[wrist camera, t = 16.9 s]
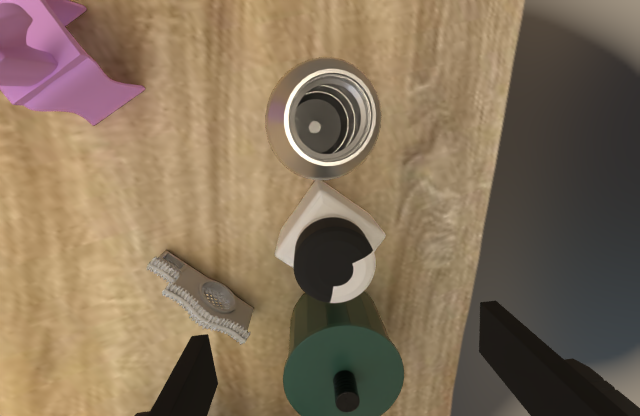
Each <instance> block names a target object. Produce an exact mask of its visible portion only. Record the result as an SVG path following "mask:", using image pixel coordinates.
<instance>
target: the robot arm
mask: <svg viewBox="0 0 640 416" xmlns="http://www.w3.org/2000/svg"><path fill="white" fill-rule="evenodd" d="M479 352H480V353H481V355H482V356H483V357H484V358H485V360H486V361H487V362H488V363H489V364H490V366H491V367H492V368H493V369H494V371H495V372H496V373H497V374H498V376H499V377H500V378H501V379H502V381H503V382H504V383H505V384H506V385H507V387H508V388H509V389H510V390H511V392H512V393H513V394H514V395H515V396H516V398H517V399H518V400H519V401H520V403H521V404H522V405H523V406H524V408H525V409H526V410H527V411H528V413H529V414H530V415H531V416H640V408H639V407H638V406H636V405H635V404H634V403H633V402H631V401H630V400H629V399H628V398H627V397H625V396H624V395H623V394H622V393H620V392H619V391H618V390H615V388H614V387H613V386H612V385H611V384H609V383H608V382H607V381H604V380H603V378H602V377H601V376H600V375H598V374H597V373H596V372H595V371H593V370H592V369H591V368H590V367H588V366H586V365H584V364H582V363H580V362H578V361H577V360H574V359H566V360H564V359H562V358H561V357H560V356H559V355H558V354H556V352H554V351H553V350H552V349H551V348H550V347H549V346H547V345H546V344H545V343H544V342H543V341H542V340H541V339H539V338H538V337H537V336H536V335H535V334H534V333H532V332H531V331H530V330H529V329H528V328H527V327H526V326H524V325H523V324H522V323H521V322H520V321H518V320H517V319H516V318H515V317H514V316H513V315H512V314H511V313H509V312H508V311H507V310H506V309H505V308H504V307H502V306H501V305H500V304H499V303H498V302H497V301H489V302H481V303H480V341H479ZM217 385H218V381H217V376H216V371H215V366H214V361H213V356H212V352H211V347H210V342H209V337H208V334H207V335H198V336H192V337H191V338H190V340H189V342H188V344H187V346H186V348H185V349H184V351H183V353H182V355H181V357H180V358H179V360H178V362H177V364H176V366H175V367H174V369H173V371H172V373H171V375H170V377H169V378H168V380H167V382H166V384H165V386H164V387H163V389H162V391H161V393H160V395H159V397H158V398H157V400H156V402H155V404H154V406H153V407H152V409H151V411H149V412H141V413H137V414H136V415H135V416H207V414H208V411H209V408H210V405H211V402H212V399H213V397H214V394H215V391H216V388H217Z"/></svg>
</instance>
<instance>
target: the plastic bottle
mask: <svg viewBox="0 0 640 416" xmlns="http://www.w3.org/2000/svg"><path fill="white" fill-rule="evenodd" d="M265 123H266V132H267V138H268V141H269V143H270V146H271V148H272V151H273V152H274V154H275V155H276V157H277V158H278V160H279V161H280V162H281V163H282V164H283V165H284V166H285V167H286V168H287V169H289V170H290V171H292V172H293V173H295V174H297V175H299V176H302V177H304V178H307V179H312V180H330V179H335V178H339V177H341V176H344V175H346V174H348V173H350V172H351V171H353V170H354V169H356V168H357V167H358V166H359V165H360V164H361V163H362V162H363V161H365V160H366V158H367V157H368V155H369V154H370V153H371V151H372V150H373V148H374V145H375V143H376V141H377V139H378V135H379V131H380V128H381V107H380V101H379V98H378V95H377V92H376V90H375V88H374V86H373V84H372V83H371V81H370V80H369V79H368V77H367V76H366V75H365V74H364V73H363V72H362V71H361V70H359V69H358V68H357V67H356V66H354V65H352V64H350V63H348V62H346V61H344V60H341V59H336V58H332V57H319V58H315V59H310V60H307V61H304V62H302V63H300V64H298V65H296V66H295V67H293V68H292V69H291V70H289V71H288V72H287V73H286V74H285V75H284V76H283V77H282V78H281V79H280V80H279V81H278V83H277V85H276V86H275V88H274V89H273V91H272V93H271V96H270V98H269V101H268V104H267V110H266V115H265Z"/></svg>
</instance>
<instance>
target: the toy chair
mask: <svg viewBox="0 0 640 416" xmlns="http://www.w3.org/2000/svg"><path fill="white" fill-rule="evenodd" d="M86 10H87V9H86V7H85V6H84V5H81V4H78V3H75V2H71V1H68V0H0V90H1V91H2V92H3V94H4V95H5V96H6V97H7V98H8V100H9V101H10V102H11V103H12V104H13V105H24V106H25V107H27V108H29V109H31V110H35V111H65V112H72V113H75V114H78V115H80V116H82V117H83V118H85V119H86V120H87V121H89V122H90V123H91V124H92V125H96V124H97V123H99V122H100V121H102V120H103V119H104V118H106V117H107V116H109V115H110V114H111V113H113V112H114V111H116V110H117V109H119V108H120V107H121V106H123V105H124V104H126V103H127V102H128V101H130V100H131V99H133V98H134V97H135V96H137V95H138V94H140V93H141V92H142V91H144V90H145V88H144V86H141V85H132V84H126V83H121V82H117V81H114V80H112V79H111V78H109V77H108V76H107V75H106V74H105V73H104V72H103V70H102V69H101V67H100V66H99V65H98V63H97V62H96V61H95V60H94V59H92V58H91V57H90V56H89V55H88V54H87V53H86V52H85V51H84V49H83V48H82V47H81V46H80V45H79V43H78V42H77V41H76V40H75V38H74V37H73V36H72V35H71V33H70V32H69V31H68V30H67V29H66V27H65V26H66V25H68V24H69V23H70V22H72V21H73V20H74V19H76V18H77V17H78V16H80V15H81V14H82V13H84V12H85V11H86Z"/></svg>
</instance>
